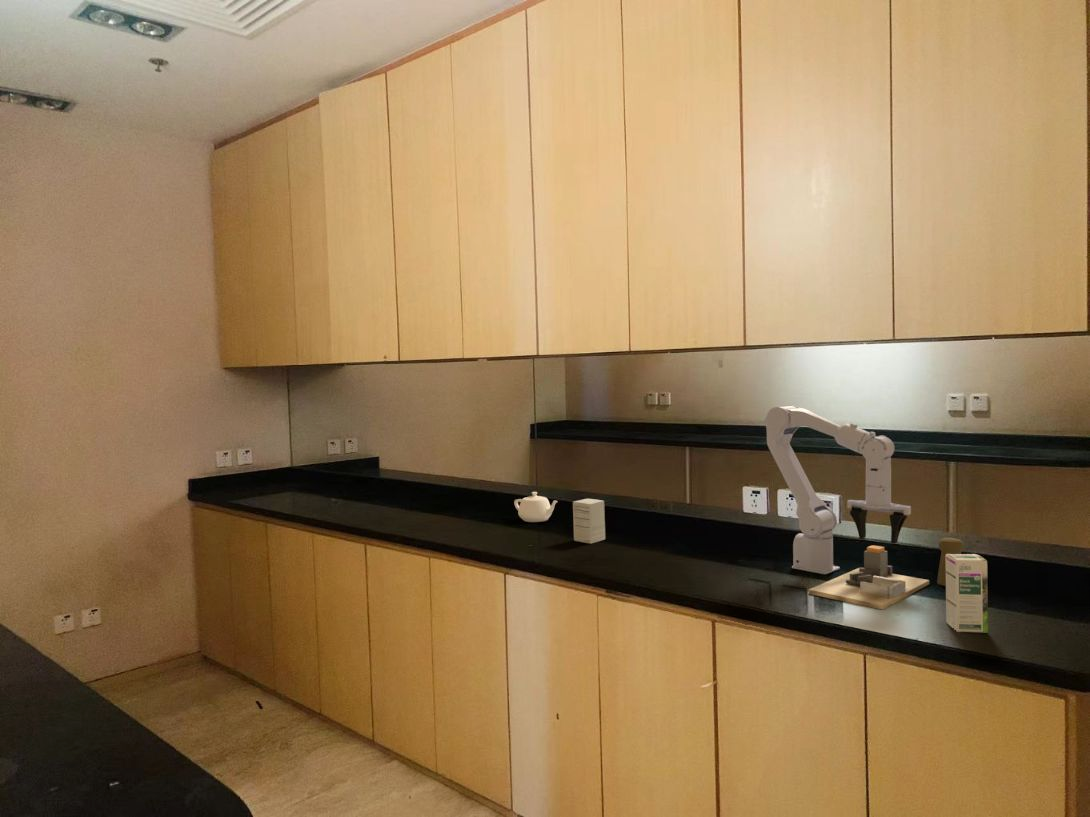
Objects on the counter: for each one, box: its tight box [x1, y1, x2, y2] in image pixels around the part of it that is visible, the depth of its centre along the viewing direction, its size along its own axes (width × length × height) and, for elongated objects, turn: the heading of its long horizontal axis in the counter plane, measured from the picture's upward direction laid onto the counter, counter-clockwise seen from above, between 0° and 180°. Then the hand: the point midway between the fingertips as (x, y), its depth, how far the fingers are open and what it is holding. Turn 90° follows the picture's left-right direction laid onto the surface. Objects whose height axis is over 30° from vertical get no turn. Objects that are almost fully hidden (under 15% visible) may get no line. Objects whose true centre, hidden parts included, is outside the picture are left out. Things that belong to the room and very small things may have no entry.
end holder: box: [860, 576, 906, 599], centre depth 167 cm, size 7×8×2 cm
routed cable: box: [846, 576, 873, 586], centre depth 174 cm, size 8×8×1 cm
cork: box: [936, 537, 964, 587], centre depth 176 cm, size 6×6×11 cm
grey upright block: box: [863, 544, 888, 577], centre depth 182 cm, size 6×4×7 cm
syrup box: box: [945, 553, 989, 634], centre depth 146 cm, size 6×6×14 cm
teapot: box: [513, 491, 558, 523], centre depth 268 cm, size 20×12×10 cm, turn 52°
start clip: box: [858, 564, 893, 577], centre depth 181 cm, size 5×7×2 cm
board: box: [808, 567, 930, 610], centre depth 173 cm, size 17×26×1 cm, turn 132°
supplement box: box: [572, 498, 606, 544], centre depth 232 cm, size 7×7×13 cm
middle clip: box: [850, 572, 872, 583], centre depth 175 cm, size 4×3×2 cm
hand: (878, 540), depth 180 cm, fingers open, 7 cm apart
